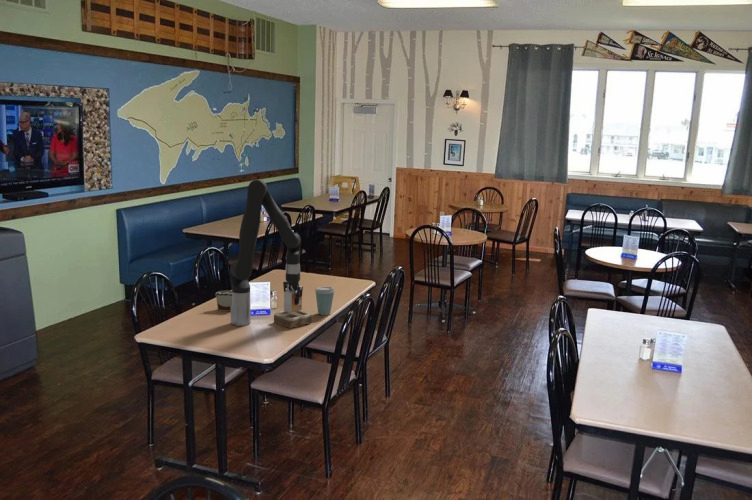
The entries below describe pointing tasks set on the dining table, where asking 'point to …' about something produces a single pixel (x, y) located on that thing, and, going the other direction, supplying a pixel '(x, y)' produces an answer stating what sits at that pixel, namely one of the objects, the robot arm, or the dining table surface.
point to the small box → (291, 302)
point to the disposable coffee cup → (324, 299)
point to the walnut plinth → (292, 318)
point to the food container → (224, 300)
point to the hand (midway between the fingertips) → (292, 302)
